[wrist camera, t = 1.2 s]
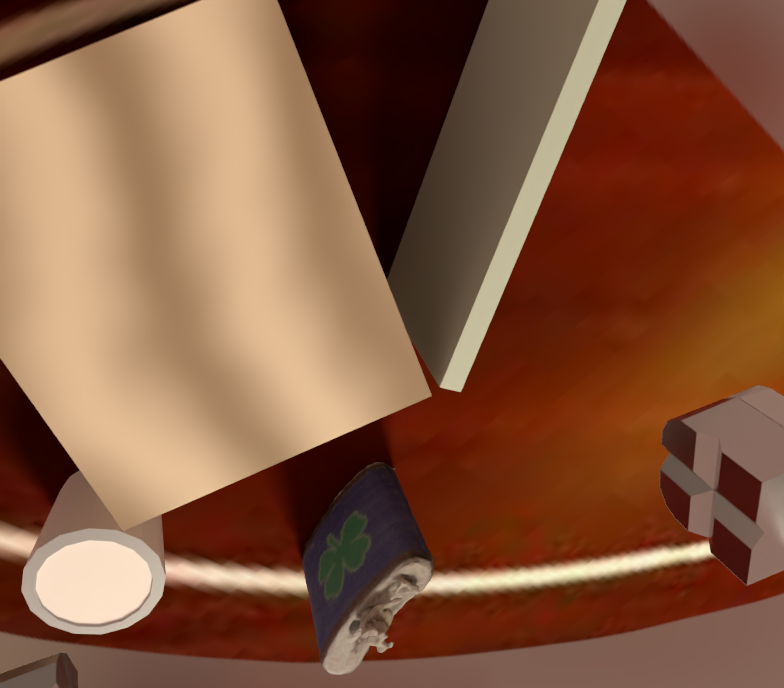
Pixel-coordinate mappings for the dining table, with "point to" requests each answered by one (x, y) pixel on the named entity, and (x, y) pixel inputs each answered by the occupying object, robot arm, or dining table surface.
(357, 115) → the dining table surface
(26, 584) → the white cylinder
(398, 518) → the flask
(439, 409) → the dining table surface
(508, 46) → the side door
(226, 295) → the oak cabinet
